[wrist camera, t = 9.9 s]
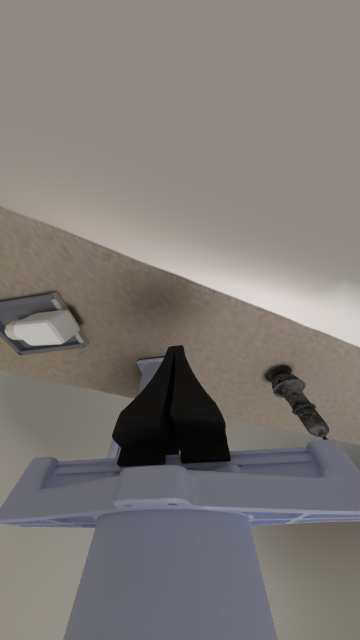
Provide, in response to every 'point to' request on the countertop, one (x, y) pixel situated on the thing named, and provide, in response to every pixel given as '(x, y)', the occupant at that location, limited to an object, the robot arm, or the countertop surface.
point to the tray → (29, 305)
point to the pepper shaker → (44, 328)
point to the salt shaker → (297, 399)
